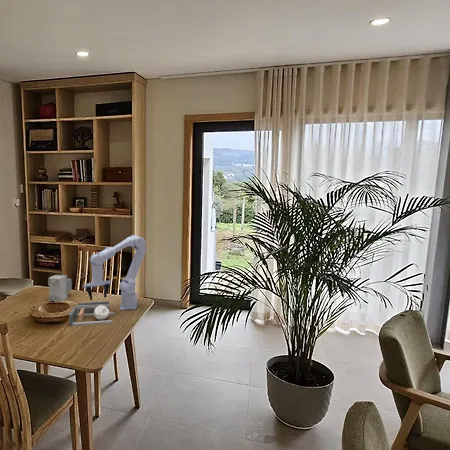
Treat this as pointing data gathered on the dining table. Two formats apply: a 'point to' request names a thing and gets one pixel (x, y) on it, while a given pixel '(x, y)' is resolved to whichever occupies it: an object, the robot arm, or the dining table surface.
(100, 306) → the white rounded piece
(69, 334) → the dining table surface
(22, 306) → the dining table surface
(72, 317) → the rail mount
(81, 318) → the tan rectangular box
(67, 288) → the circuit breaker
